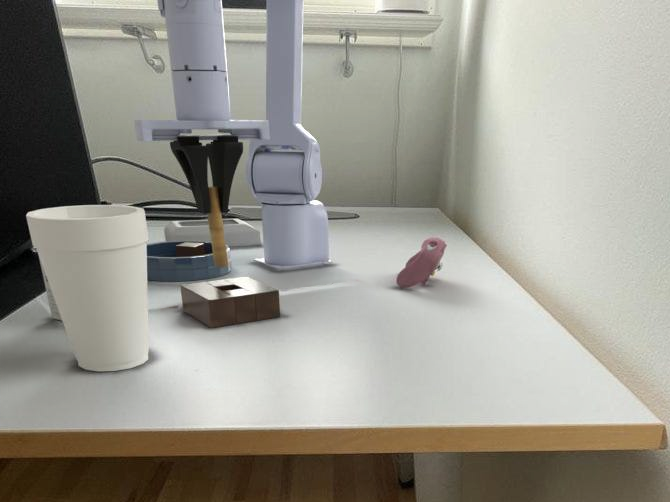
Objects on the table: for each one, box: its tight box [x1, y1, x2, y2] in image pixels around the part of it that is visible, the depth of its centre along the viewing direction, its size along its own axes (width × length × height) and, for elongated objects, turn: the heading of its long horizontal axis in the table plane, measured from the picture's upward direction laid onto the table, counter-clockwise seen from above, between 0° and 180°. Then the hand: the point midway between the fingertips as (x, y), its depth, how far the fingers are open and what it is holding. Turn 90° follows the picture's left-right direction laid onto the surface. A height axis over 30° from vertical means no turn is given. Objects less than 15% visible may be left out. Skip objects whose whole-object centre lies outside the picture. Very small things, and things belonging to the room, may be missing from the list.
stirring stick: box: [206, 186, 228, 267], centre depth 76 cm, size 2×2×8 cm
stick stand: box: [179, 276, 281, 329], centre depth 76 cm, size 8×8×3 cm
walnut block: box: [176, 242, 205, 257], centre depth 97 cm, size 3×3×3 cm
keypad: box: [163, 218, 262, 247], centre depth 114 cm, size 10×4×15 cm
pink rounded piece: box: [395, 237, 448, 289], centre depth 90 cm, size 10×5×7 cm, turn 168°
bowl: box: [147, 241, 233, 282], centre depth 94 cm, size 14×14×4 cm
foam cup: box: [25, 204, 150, 372], centre depth 59 cm, size 10×9×13 cm
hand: (212, 212), depth 75 cm, fingers closed on stirring stick, 1 cm apart
